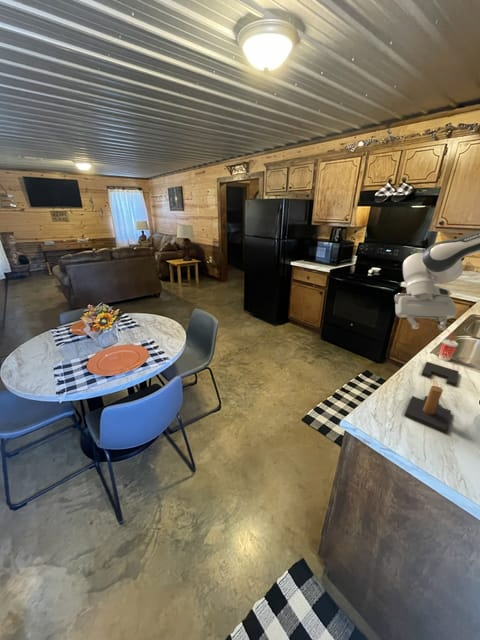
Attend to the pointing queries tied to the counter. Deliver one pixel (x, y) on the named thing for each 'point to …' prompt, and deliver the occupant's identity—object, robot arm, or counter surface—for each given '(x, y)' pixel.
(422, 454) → the counter surface
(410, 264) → the robot arm
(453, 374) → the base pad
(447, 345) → the beverage cup
